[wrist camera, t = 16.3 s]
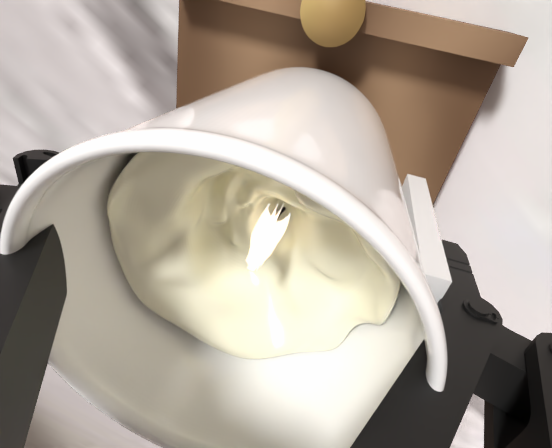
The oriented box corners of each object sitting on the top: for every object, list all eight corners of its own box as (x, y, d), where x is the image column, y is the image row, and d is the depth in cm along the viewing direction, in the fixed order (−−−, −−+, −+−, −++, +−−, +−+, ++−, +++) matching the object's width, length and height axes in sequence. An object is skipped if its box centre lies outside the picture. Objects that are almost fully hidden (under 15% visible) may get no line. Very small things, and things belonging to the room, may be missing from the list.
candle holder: (456, 147, 16) (582, 393, 6) (313, 271, 21) (257, 510, 11) (279, -10, 15) (66, -22, 5) (173, 164, 20) (-33, 334, 10)
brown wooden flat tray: (175, 337, 31) (157, 367, 28) (190, -57, 16) (157, -66, 14) (338, 390, 30) (334, 426, 27) (517, 12, 15) (545, 16, 12)
